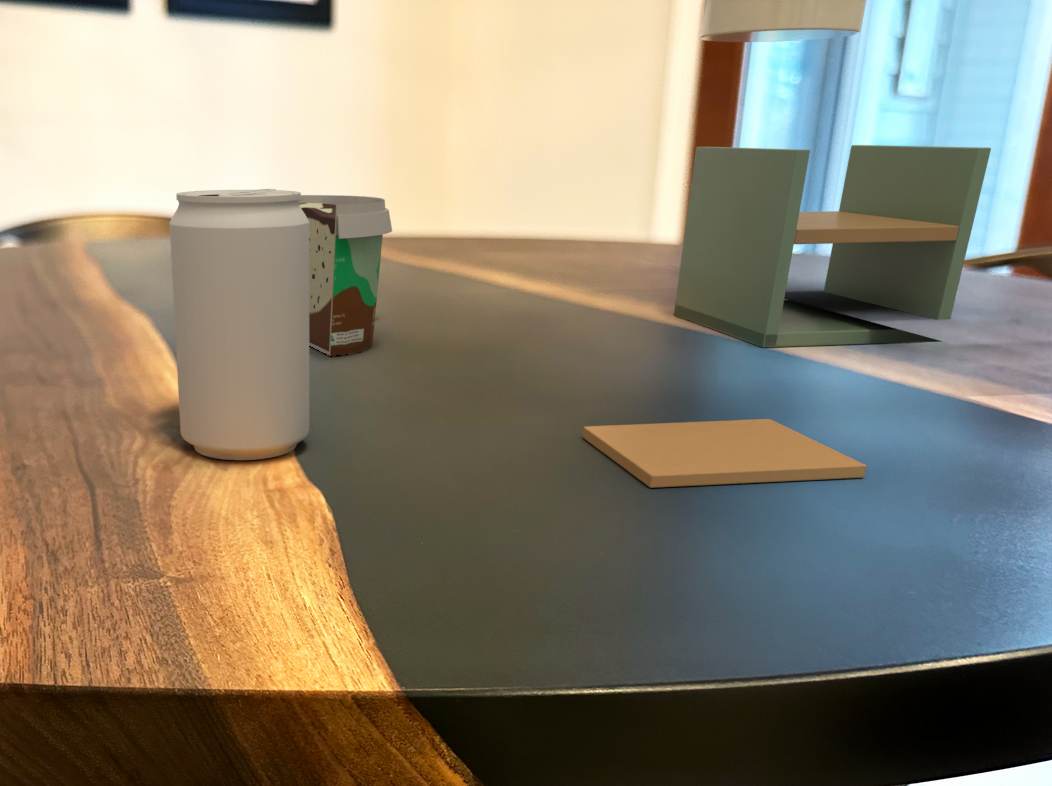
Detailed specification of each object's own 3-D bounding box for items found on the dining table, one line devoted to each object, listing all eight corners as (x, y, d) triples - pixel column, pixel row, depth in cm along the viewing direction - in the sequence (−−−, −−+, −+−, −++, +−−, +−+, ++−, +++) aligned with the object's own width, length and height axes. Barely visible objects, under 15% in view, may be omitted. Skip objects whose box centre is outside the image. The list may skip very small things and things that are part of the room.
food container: (419, 353, 71) (425, 202, 67) (338, 360, 69) (339, 205, 65) (347, 324, 82) (348, 192, 78) (275, 330, 80) (273, 195, 76)
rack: (830, 310, 86) (862, 145, 81) (945, 341, 73) (992, 147, 68) (673, 314, 85) (696, 146, 80) (762, 347, 72) (796, 149, 67)
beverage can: (168, 436, 52) (152, 188, 48) (285, 423, 54) (281, 185, 50) (200, 471, 47) (187, 196, 42) (329, 456, 49) (330, 191, 44)
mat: (768, 429, 52) (770, 418, 52) (864, 478, 45) (867, 465, 45) (581, 437, 51) (583, 426, 51) (650, 488, 44) (651, 475, 44)
